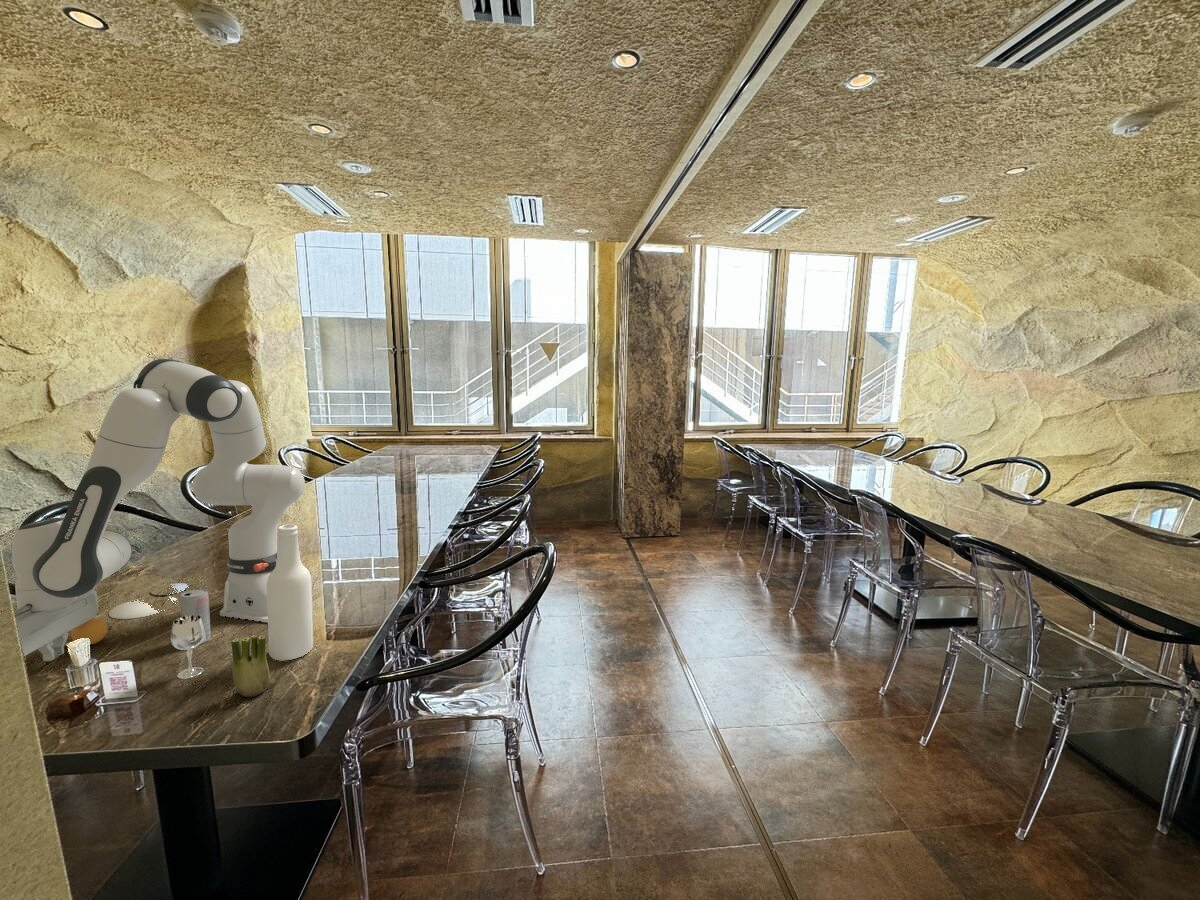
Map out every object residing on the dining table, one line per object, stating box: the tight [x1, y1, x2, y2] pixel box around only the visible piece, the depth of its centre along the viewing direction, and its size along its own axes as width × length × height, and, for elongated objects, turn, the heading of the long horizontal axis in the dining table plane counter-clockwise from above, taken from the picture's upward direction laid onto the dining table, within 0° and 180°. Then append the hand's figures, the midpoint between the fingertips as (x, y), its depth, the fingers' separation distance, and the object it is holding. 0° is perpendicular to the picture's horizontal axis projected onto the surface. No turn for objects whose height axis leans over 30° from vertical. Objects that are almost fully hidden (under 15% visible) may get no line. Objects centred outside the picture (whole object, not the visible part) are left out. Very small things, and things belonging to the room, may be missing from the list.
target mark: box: [108, 595, 178, 620], centre depth 141 cm, size 14×14×1 cm
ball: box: [70, 617, 108, 645], centre depth 122 cm, size 6×6×6 cm
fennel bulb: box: [230, 634, 271, 698], centre depth 106 cm, size 6×5×12 cm
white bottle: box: [266, 524, 314, 662], centre depth 120 cm, size 9×9×30 cm
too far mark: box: [167, 582, 190, 596], centre depth 153 cm, size 9×9×1 cm
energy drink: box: [179, 588, 212, 646], centre depth 125 cm, size 5×5×12 cm
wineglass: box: [170, 615, 205, 680], centre depth 111 cm, size 6×6×12 cm
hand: (53, 657), depth 112 cm, fingers closed
